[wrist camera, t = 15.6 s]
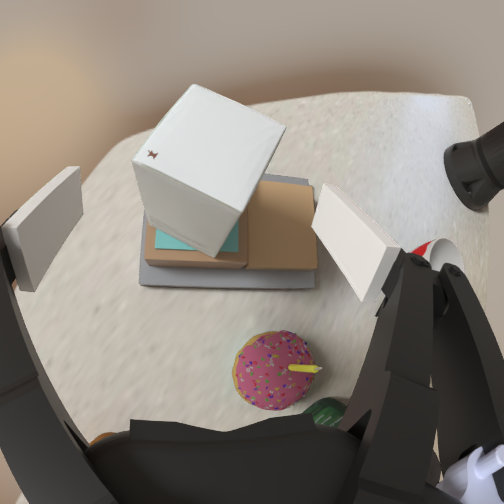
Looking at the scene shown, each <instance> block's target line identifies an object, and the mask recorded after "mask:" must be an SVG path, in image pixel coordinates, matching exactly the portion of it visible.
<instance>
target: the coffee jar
mask: <svg viewBox="0 0 504 504" xmlns="http://www.w3.org/2000/svg"><path fill="white" fill-rule="evenodd" d="M346 409H347V406H346V405H344V404H342V403H341V402H339V401H337V400H335V399H331V398H325V399H321V400H319V401H317V402H315V403H314V404H312V405H311V406H310V407H309V408H307V409H306V410H305V411H304V412H303V413H302V414H304V413H312V416H313V419H314V422H315V423H318V424H323V425H328V426H332V427H335V428H337V427H338V426H339V424H340V422H341V420H342V418H343V416H344V413H345V411H346ZM440 474H441V465H440V462H439V460H438V457H437V455H436V453H435V452H434V450H433V451H432V456H431V461H430V466H429V470H428V474H427V478H426V482H428V483H429V484H431V485H433V486H435V487H436V485H437V484H438V483H439V480H440Z"/></svg>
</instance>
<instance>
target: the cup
mask: <svg viewBox="0 0 504 504" xmlns="http://www.w3.org/2000/svg"><path fill="white" fill-rule="evenodd" d="M408 253H415V254H418V255H421V256H422V257H424V258H425V259H426V260H427V261H428V262H429V263H430V264H431V267H432V270H436V271H439V272H440V270H441V268H442V266H443V264H444V263H450V264H452V265H456V266H457V267H459V268H460V269H461V271H463V273H464V274H465V267H464V261H463V258H462V255H461V253H460V250H459V249H458V247H457V246H456V244H455V243H454V242H453V241H452V240H451V239H449V238H447V237H439V238H437V239H435V240H432V241H430V242H428V243H426V244H423V245H421V246H419V247H417V248H415V249H413V250H412V251H410V252H408Z"/></svg>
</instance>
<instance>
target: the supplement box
mask: <svg viewBox="0 0 504 504" xmlns="http://www.w3.org/2000/svg"><path fill="white" fill-rule="evenodd" d="M285 130H286V126H284V125H282V124H281V123H279V122H277V121H275V120H273V119H271V118H269V117H267V116H265V115H263V114H261V113H259V112H257V111H255V110H253V109H251V108H249V107H247V106H244V105H242V104H240V103H238V102H236V101H233V100H231V99H229V98H226V97H224V96H222V95H219V94H217V93H215V92H213V91H211V90H209V89H206V88H204V87H201V86H199V85H197V84H193V85H191V86H190V87H189V88H188V90H187V91H186V92H185V93H184V94H183V95H182V96H181V98H180V99H179V100H178V101H177V102H176V104H175V105H174V106H173V107H172V108H171V109H170V111H169V112H168V113H167V114H166V115H165V116H164V117H163V119H162V120H161V121H160V122H159V124H158V125H157V127H156V128H155V129H154V130H153V132H152V133H151V134H150V136H149V137H148V138H147V140H146V141H145V142H144V144H143V145H142V146H141V148H140V149H139V150H138V152H137V153H136V154H135V156H134V157H133V158H132V165H133V169H134V172H135V176H136V180H137V184H138V188H139V191H140V195H141V199H142V202H143V206H144V209H145V212H146V216H147V219H148V222H149V225H150V226H152V227H154V228H156V229H158V230H160V231H162V232H164V233H166V234H168V235H170V236H171V237H173V238H175V239H177V240H179V241H181V242H183V243H185V244H187V245H189V246H191V247H193V248H195V249H197V250H199V251H201V252H203V253H205V254H207V255H209V256H211V257H213V258H215V257H216V255H217V254H218V252H219V250H220V249H221V247H222V245H223V244H224V242H225V240H226V239H227V237H228V235H229V233H230V232H231V230H232V229H233V227H234V225H235V224H236V222H237V220H238V219H239V217H240V216H241V214H242V213H243V211H244V210H245V208H246V206H247V205H248V203H249V201H250V199H251V197H252V196H253V194H254V192H255V190H256V188H257V186H258V184H259V183H260V181H261V179H262V177H263V175H264V173H265V171H266V169H267V167H268V165H269V163H270V161H271V159H272V157H273V155H274V153H275V151H276V149H277V147H278V144H279V142H280V140H281V138H282V136H283V134H284V132H285Z"/></svg>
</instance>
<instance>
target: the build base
mask: <svg viewBox="0 0 504 504" xmlns="http://www.w3.org/2000/svg"><path fill="white" fill-rule="evenodd" d="M314 215H315V214H314V201H313V190H312V186H309V184H308V179H303V178H295V177H288V176H280V175H271V174H264V175H263V177H262V179H261V181H260V183H259V184H258V186H257V188H256V190H255V192H254V194H253V196H252V197H251V199H250V201H249V203H248V205H247V206H246V208H245V210H244V211H243V213H242V214H241V216H240V217H239V219H238V220H237V222H236V224H235V225H234V227H233V229H232V230H231V232H230V233H229V235H228V237H227V239H226V240H225V242H224V244H223V245H222V247H221V249H220V250H219V252H218V254H217V255H216V257H215V258H213V257H211V256H209V255H207V254H205V253H203V252H201V251H199V250H197V249H195V248H193V247H191V246H189V245H187V244H185V243H183V242H181V241H179V240H177V239H175V238H173V237H171V236H170V235H168V234H166V233H164V232H162V231H160V230H158V229H156V228H154V227H152V226H150V225H149V222H148V219H147V216H146V212H145V209H144V218H143V228H142V240H141V253H140V270H139V284H140V285H145V286H169V287H198V288H243V289H311V288H315V276H314V269H317V268H318V260H317V242H316V233H315V231H314V230H313V228H312V227H311V226H312V222H313V219H314Z"/></svg>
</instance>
